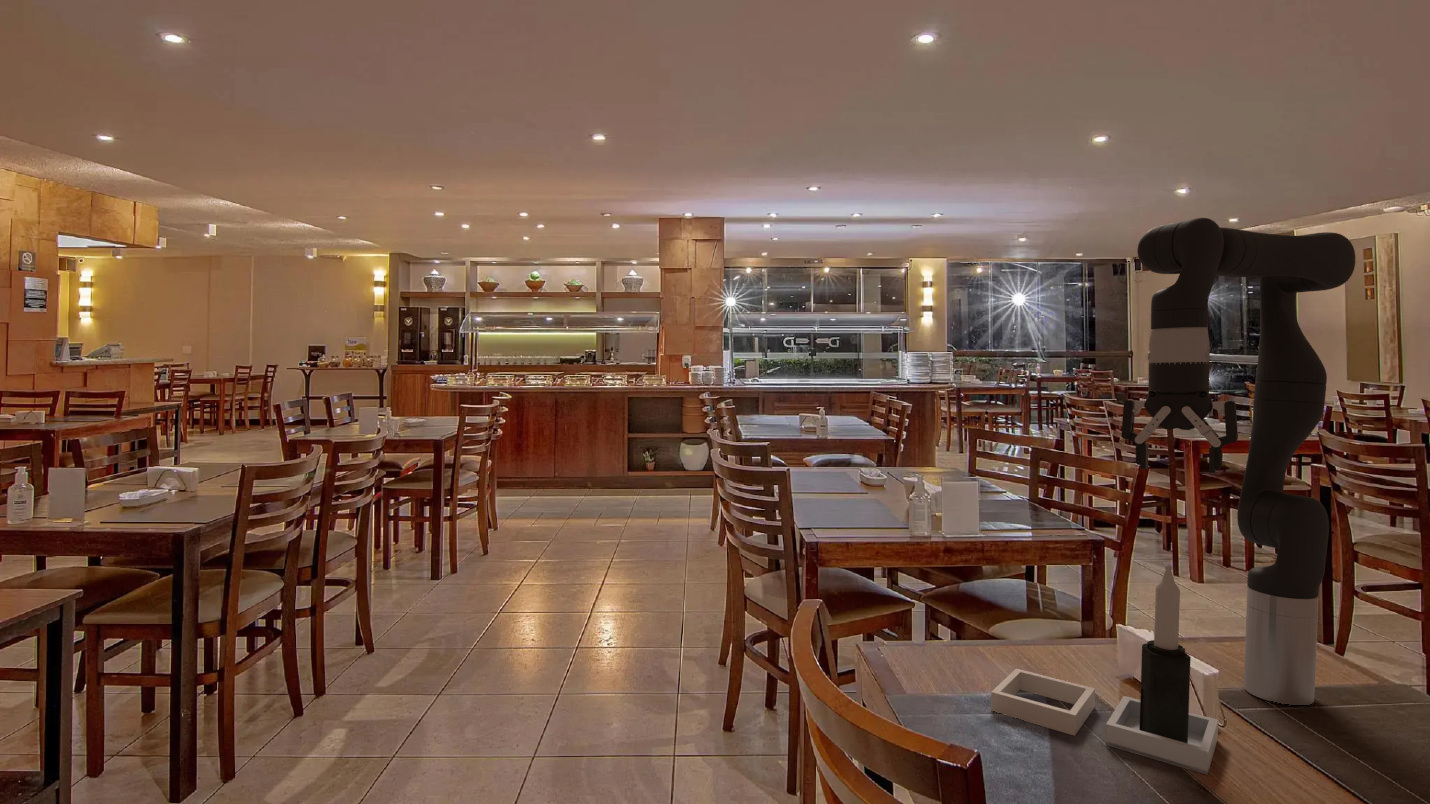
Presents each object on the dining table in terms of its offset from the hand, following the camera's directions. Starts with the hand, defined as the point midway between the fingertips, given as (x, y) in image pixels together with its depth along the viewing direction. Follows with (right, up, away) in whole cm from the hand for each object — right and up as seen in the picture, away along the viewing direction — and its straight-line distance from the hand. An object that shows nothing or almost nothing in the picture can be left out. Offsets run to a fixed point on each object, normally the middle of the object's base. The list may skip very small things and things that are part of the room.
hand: (1177, 470), depth 107 cm
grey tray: (-4, -38, -3) cm, 39 cm away
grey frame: (-17, -38, +7) cm, 42 cm away
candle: (-4, -38, -3) cm, 38 cm away
